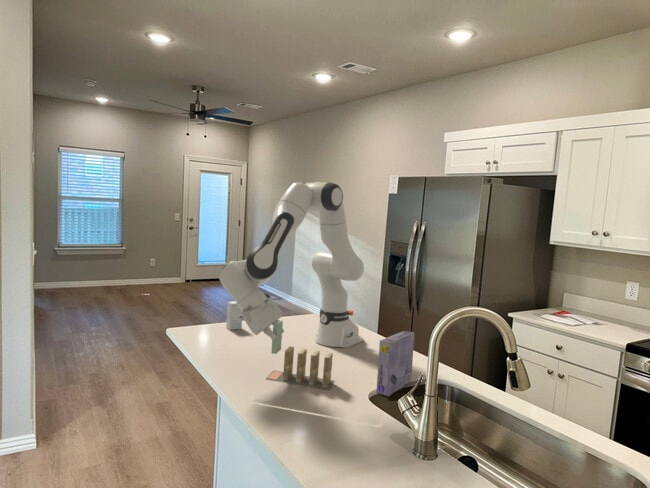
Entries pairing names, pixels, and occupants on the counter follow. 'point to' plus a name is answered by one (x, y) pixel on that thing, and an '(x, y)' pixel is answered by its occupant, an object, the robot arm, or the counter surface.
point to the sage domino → (277, 342)
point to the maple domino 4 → (327, 370)
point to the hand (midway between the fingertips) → (279, 335)
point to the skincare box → (234, 316)
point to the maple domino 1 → (288, 363)
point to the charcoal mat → (279, 377)
